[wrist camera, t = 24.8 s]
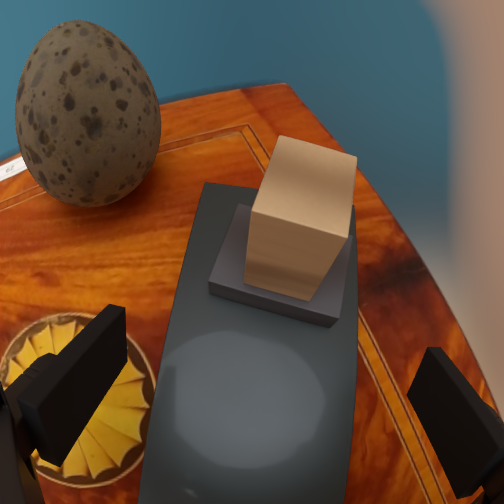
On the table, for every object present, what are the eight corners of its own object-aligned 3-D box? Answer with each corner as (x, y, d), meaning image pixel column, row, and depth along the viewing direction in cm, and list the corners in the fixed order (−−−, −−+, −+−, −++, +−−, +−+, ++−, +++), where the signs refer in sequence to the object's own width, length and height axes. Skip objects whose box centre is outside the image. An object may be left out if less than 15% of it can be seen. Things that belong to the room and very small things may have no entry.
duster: (330, 328, 20) (392, 262, 12) (209, 293, 21) (199, 207, 13) (344, 250, 23) (394, 162, 15) (237, 219, 24) (243, 119, 16)
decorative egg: (163, 133, 29) (146, -13, 16) (178, 221, 24) (149, 30, 11) (61, 158, 27) (11, 27, 14) (51, 250, 22) (-47, 101, 9)
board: (333, 529, 14) (338, 533, 13) (140, 509, 14) (136, 512, 13) (350, 212, 26) (354, 204, 25) (205, 190, 26) (204, 181, 25)
